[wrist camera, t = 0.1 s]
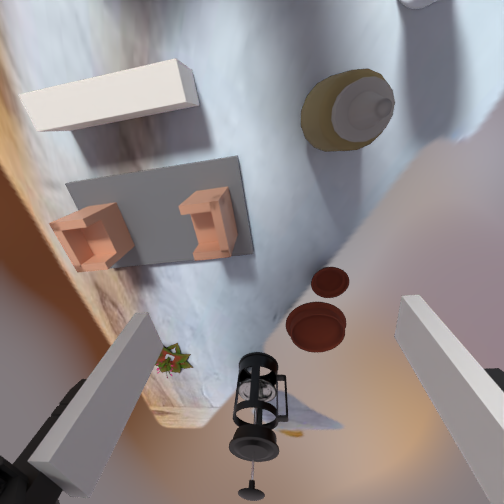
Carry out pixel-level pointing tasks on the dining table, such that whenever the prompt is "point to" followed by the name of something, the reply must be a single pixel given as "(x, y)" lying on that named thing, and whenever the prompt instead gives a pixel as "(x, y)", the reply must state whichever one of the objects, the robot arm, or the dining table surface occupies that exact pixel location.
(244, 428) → the french press
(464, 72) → the dining table surface
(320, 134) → the squeeze bottle
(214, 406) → the dining table surface
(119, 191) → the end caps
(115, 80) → the slat
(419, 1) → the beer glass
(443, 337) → the robot arm
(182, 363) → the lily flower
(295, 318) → the pottery
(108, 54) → the dining table surface
